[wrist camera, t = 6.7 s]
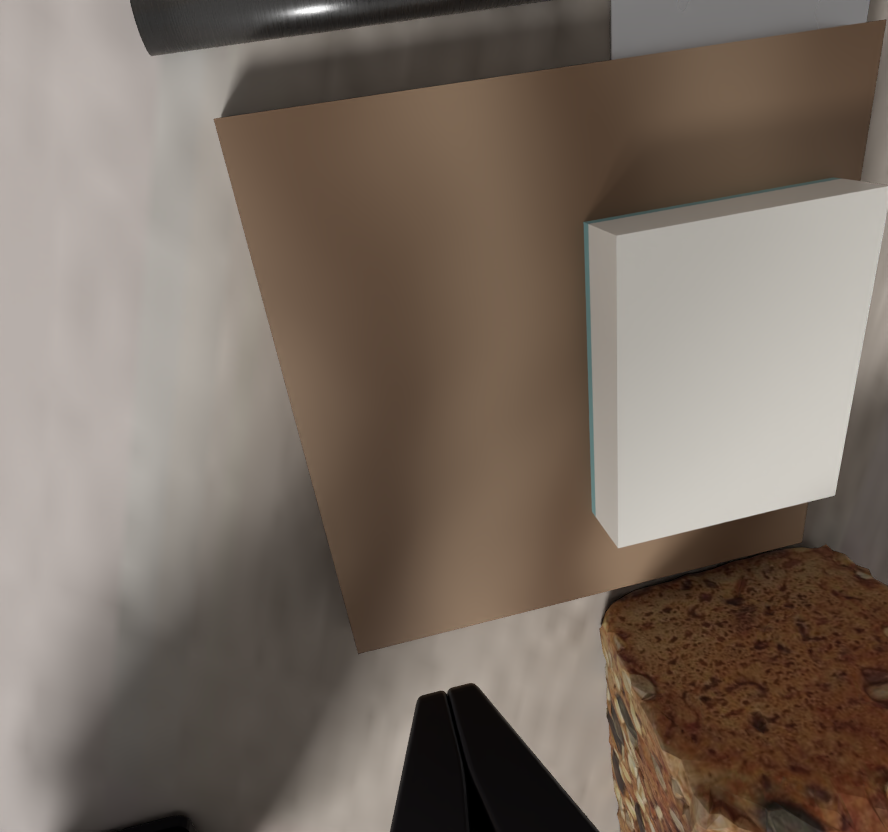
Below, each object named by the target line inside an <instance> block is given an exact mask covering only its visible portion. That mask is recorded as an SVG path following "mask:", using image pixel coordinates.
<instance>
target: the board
mask: <svg viewBox="0 0 888 832" xmlns="http://www.w3.org/2000/svg"><path fill="white" fill-rule="evenodd" d="M885 25H886V20H879V21H872V22H865V23H858V24H851V25H844V26H838V27H831V28H824V29H817V30H811V31H804V32H797V33H790V34H784V35H777V36H770V37H763V38H757V39H750V40H743V41H736V42H729V43H723V44H716V45H709V46H702V47H696V48H689V49H682V50H675V51H669V52H662V53H655V54H648V55H642V56H635V57H628V58H621V59H614V60H608V61H601V62H594V63H587V64H581V65H574V66H567V67H560V68H554V69H547V70H540V71H533V72H527V73H520V74H513V75H506V76H500V77H493V78H486V79H479V80H472V81H466V82H459V83H452V84H445V85H439V86H432V87H425V88H418V89H412V90H405V91H398V92H391V93H385V94H378V95H371V96H364V97H357V98H351V99H344V100H337V101H330V102H324V103H317V104H310V105H303V106H297V107H290V108H283V109H276V110H270V111H263V112H256V113H249V114H242V115H236V116H229V117H222V118H216V119H214V122H215V126H216V129H217V133H218V137H219V140H220V144H221V148H222V152H223V155H224V159H225V163H226V166H227V170H228V174H229V177H230V181H231V185H232V189H233V192H234V196H235V200H236V203H237V207H238V211H239V214H240V218H241V222H242V226H243V229H244V233H245V237H246V240H247V244H248V248H249V251H250V255H251V259H252V263H253V266H254V270H255V274H256V277H257V281H258V285H259V288H260V292H261V296H262V300H263V303H264V307H265V311H266V314H267V318H268V322H269V325H270V329H271V333H272V337H273V340H274V344H275V348H276V351H277V355H278V359H279V362H280V366H281V370H282V374H283V377H284V381H285V385H286V388H287V392H288V396H289V399H290V403H291V407H292V411H293V414H294V418H295V422H296V425H297V429H298V433H299V436H300V440H301V444H302V448H303V451H304V455H305V459H306V462H307V466H308V470H309V473H310V477H311V481H312V485H313V488H314V492H315V496H316V499H317V503H318V507H319V510H320V514H321V518H322V522H323V525H324V529H325V533H326V536H327V540H328V544H329V547H330V551H331V555H332V559H333V562H334V566H335V570H336V573H337V577H338V581H339V584H340V588H341V592H342V596H343V599H344V603H345V607H346V610H347V614H348V618H349V621H350V625H351V629H352V633H353V636H354V640H355V644H356V647H357V651H358V654H360V653H364V652H368V651H372V650H376V649H380V648H384V647H388V646H392V645H396V644H400V643H404V642H408V641H412V640H416V639H420V638H424V637H428V636H432V635H435V634H439V633H443V632H447V631H451V630H455V629H459V628H463V627H467V626H471V625H475V624H479V623H483V622H487V621H491V620H495V619H499V618H503V617H507V616H511V615H515V614H519V613H523V612H527V611H531V610H535V609H539V608H543V607H547V606H551V605H555V604H559V603H563V602H567V601H571V600H574V599H578V598H582V597H586V596H590V595H594V594H598V593H602V592H606V591H610V590H614V589H618V588H622V587H626V586H630V585H634V584H638V583H642V582H646V581H650V580H654V579H658V578H662V577H666V576H670V575H674V574H678V573H682V572H686V571H690V570H694V569H698V568H702V567H706V566H709V565H713V564H717V563H721V562H725V561H729V560H733V559H737V558H741V557H745V556H749V555H753V554H757V553H761V552H765V551H769V550H773V549H777V548H781V547H785V546H789V545H793V544H797V543H801V542H802V538H803V532H804V525H805V519H806V513H807V507H808V502H806V503H802V504H798V505H794V506H790V507H786V508H781V509H777V510H773V511H769V512H765V513H761V514H757V515H753V516H749V517H745V518H740V519H736V520H732V521H728V522H724V523H720V524H716V525H712V526H708V527H704V528H700V529H695V530H691V531H687V532H683V533H679V534H675V535H671V536H667V537H663V538H659V539H654V540H650V541H646V542H642V543H638V544H634V545H630V546H626V547H622V548H618V547H617V546H616V545H615V543H614V542H613V540H612V539H611V538H610V536H609V535H608V533H607V532H606V531H605V529H604V528H603V526H602V525H601V524H600V522H599V521H598V519H597V518H596V517H595V515H594V514H593V512H592V498H591V464H590V429H589V394H588V359H587V325H586V290H585V255H584V222H587V221H592V220H598V219H604V218H609V217H615V216H620V215H626V214H632V213H637V212H643V211H648V210H654V209H660V208H665V207H671V206H676V205H682V204H688V203H693V202H699V201H704V200H710V199H716V198H721V197H727V196H732V195H738V194H743V193H749V192H755V191H760V190H766V189H771V188H777V187H783V186H788V185H794V184H799V183H805V182H811V181H816V180H822V179H827V178H833V177H834V178H842V179H849V180H856V181H860V180H861V173H862V167H863V161H864V155H865V149H866V143H867V136H868V130H869V124H870V118H871V112H872V105H873V99H874V93H875V87H876V81H877V75H878V68H879V62H880V56H881V50H882V44H883V38H884V31H885Z"/></svg>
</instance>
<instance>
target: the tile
mask: <svg viewBox="0 0 888 832" xmlns="http://www.w3.org/2000/svg"><path fill="white" fill-rule="evenodd" d="M887 211H888V185H885V184H878V183H871V182H863V181H856V180H849V179H842V178H834V177H833V178H827V179H822V180H816V181H811V182H805V183H799V184H794V185H788V186H783V187H777V188H771V189H766V190H760V191H755V192H749V193H743V194H738V195H732V196H727V197H721V198H716V199H710V200H704V201H699V202H693V203H688V204H682V205H676V206H671V207H665V208H660V209H654V210H648V211H643V212H637V213H632V214H626V215H620V216H615V217H609V218H604V219H598V220H592V221H587V222H584V255H585V290H586V325H587V359H588V394H589V429H590V464H591V498H592V512H593V514H594V515H595V517H596V518H597V519H598V521H599V522H600V524H601V525H602V526H603V528H604V529H605V531H606V532H607V533H608V535H609V536H610V538H611V539H612V540H613V542H614V543H615V545H616V546H617V547H618V548H622V547H626V546H630V545H634V544H638V543H642V542H646V541H650V540H654V539H659V538H663V537H667V536H671V535H675V534H679V533H683V532H687V531H691V530H695V529H700V528H704V527H708V526H712V525H716V524H720V523H724V522H728V521H732V520H736V519H740V518H745V517H749V516H753V515H757V514H761V513H765V512H769V511H773V510H777V509H781V508H786V507H790V506H794V505H798V504H802V503H806V502H810V501H814V500H818V499H822V498H827V497H831V496H835V493H836V487H837V482H838V476H839V471H840V465H841V460H842V455H843V449H844V444H845V438H846V433H847V427H848V422H849V417H850V411H851V406H852V400H853V395H854V389H855V384H856V379H857V373H858V368H859V362H860V357H861V352H862V346H863V341H864V335H865V330H866V324H867V319H868V314H869V308H870V303H871V297H872V292H873V286H874V281H875V276H876V270H877V265H878V259H879V254H880V248H881V243H882V238H883V232H884V227H885V221H886V216H887Z"/></svg>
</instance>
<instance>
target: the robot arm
mask: <svg viewBox="0 0 888 832" xmlns="http://www.w3.org/2000/svg"><path fill="white" fill-rule="evenodd" d="M447 696H448V697H447ZM117 832H196V830H195V828H194V826H193V824H192V822H191V820H190V819H189V818H187V817H185V816H179V815H178V816H172V817H168V818H165V819H161V820H157V821H154V822H150V823H146V824H143V825H139V826H135V827H132V828H128V829H124V830H121V831H117ZM390 832H599V831H598V829H597V828H596V827H595V826H594V825H593V823H592V822H591V821H590V820H589V819H588V818H587V816H586V815H585V814H584V813H583V812H582V810H581V809H580V808H579V807H578V806H577V804H576V803H575V802H574V801H573V800H572V798H571V797H570V796H569V795H568V794H567V792H566V791H565V790H564V789H563V788H562V786H561V785H560V784H559V783H558V782H557V781H556V779H555V778H554V777H553V776H552V775H551V773H550V772H549V771H548V770H547V769H546V767H545V766H544V765H543V764H542V763H541V761H540V760H539V759H538V758H537V757H536V755H535V754H534V753H533V752H532V751H531V749H530V748H529V747H528V746H527V745H526V744H525V742H524V741H523V740H522V739H521V738H520V736H519V735H518V734H517V733H516V732H515V730H514V729H513V728H512V727H511V726H510V724H509V723H508V722H507V721H506V720H505V718H504V717H503V716H502V715H501V714H500V712H499V711H498V710H497V709H496V708H495V707H494V705H493V704H492V703H491V702H490V701H489V699H488V698H487V697H486V696H485V695H484V693H483V692H482V691H481V690H480V689H479V687H478V686H476V685H475V684H473V683H468V684H465V685H461V686H457V687H453V688H450V689H449V690H448V692H447V694H446V693H445V692H444V691H438V692H434V693H430V694H426V695H422V696H420V697H419V698H418V700H417V703H416V707H415V712H414V717H413V722H412V727H411V732H410V737H409V741H408V746H407V751H406V756H405V761H404V766H403V771H402V776H401V781H400V785H399V790H398V795H397V800H396V805H395V810H394V815H393V820H392V824H391V829H390Z"/></svg>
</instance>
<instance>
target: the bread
mask: <svg viewBox="0 0 888 832" xmlns="http://www.w3.org/2000/svg"><path fill="white" fill-rule="evenodd" d="M599 629H600V636H601V642H602V649H603V654H604V656H605V659H606V662H607V663H606V666H605V670H606V680H607V706H608V708H607V719H608V722H609V733H610V736H609V743H610V745H611V762H612V772H613V781H614V791H615V794H616V798H617V801H618V805H619V808H618V813H617V816H618V819H619V823H620V831H621V832H888V586H887V585H885V584H883V583H882V582H880V581H878V580H876V579H874V578H873V577H872V575H871V573H870V571H869V569H867V568H864V567H861V566H858V565H856V564H855V563H854V562H853V561H852V560H850V559H849V558H848V557H847V556H846V555H845V554H843V553H839V552H836V551H833V550H831V549H830V548H829V547H828V546H827V545H826V544H825V545H824V546H822V547H820V548H804V547H799V548H790V549H780V550H775V551H771V552H767V553H763V554H760V555H757V556H755V557H752V558H748V559H743V560H738V561H733V562H730V563H727V564H725V565H722V566H720V567H717V568H715V569H712V570H708V571H704V572H700V573H692V574H686V575H684V576H681V577H679V578H677V579H674V580H672V581H670V582H666V583H662V584H658V585H654V586H650V587H645V588H642V589H639V590H635V591H633V592H631V593H629V594H627V595H626V596H624V597H622V598H620V599H619V600H617V601H615V602H613V603H612V605H611V606H610V607H609V609H608V610H607V611H606V613H605V616H604V620H603V624H602V626H601V628H599Z"/></svg>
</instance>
